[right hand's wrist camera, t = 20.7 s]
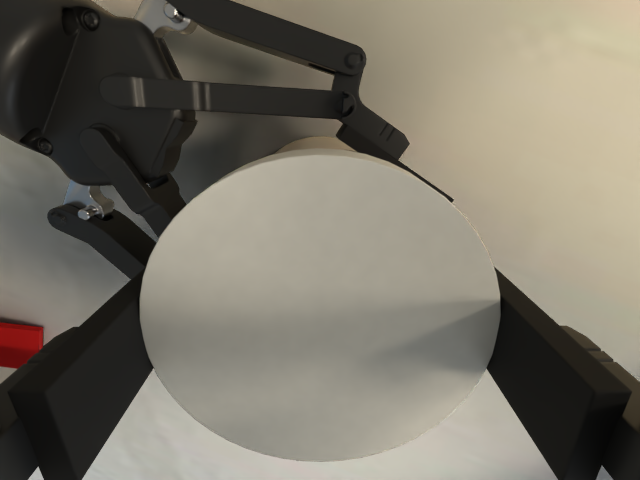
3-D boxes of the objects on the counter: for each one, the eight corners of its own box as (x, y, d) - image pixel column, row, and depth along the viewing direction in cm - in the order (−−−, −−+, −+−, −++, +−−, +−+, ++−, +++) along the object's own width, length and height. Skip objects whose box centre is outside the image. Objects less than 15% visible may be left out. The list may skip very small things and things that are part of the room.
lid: (454, 100, 10) (479, 98, 8) (493, 392, 13) (515, 427, 12) (102, 204, 11) (67, 219, 9) (230, 448, 15) (220, 486, 13)
